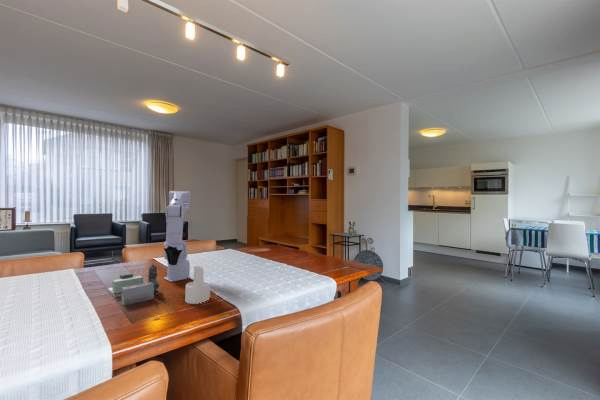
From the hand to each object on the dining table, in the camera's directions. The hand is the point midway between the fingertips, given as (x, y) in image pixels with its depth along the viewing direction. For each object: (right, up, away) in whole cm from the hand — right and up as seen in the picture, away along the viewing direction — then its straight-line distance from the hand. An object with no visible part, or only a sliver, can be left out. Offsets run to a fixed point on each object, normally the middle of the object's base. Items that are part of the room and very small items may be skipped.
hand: (172, 264), depth 117 cm
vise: (-13, -10, -9) cm, 18 cm away
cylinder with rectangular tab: (+15, -11, -11) cm, 22 cm away
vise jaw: (-16, -9, -6) cm, 19 cm away
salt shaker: (-6, -11, -6) cm, 13 cm away
